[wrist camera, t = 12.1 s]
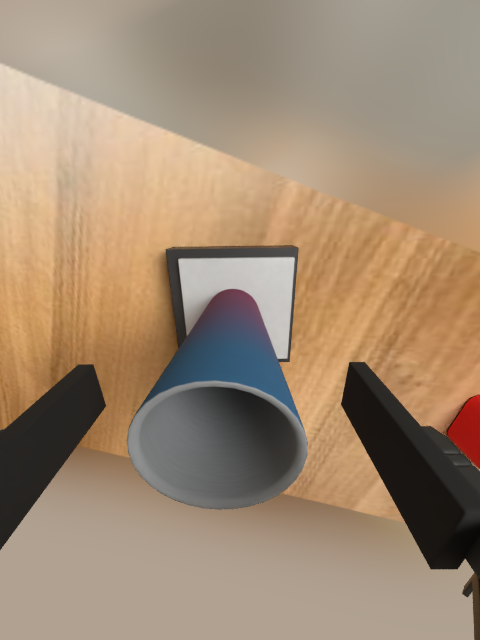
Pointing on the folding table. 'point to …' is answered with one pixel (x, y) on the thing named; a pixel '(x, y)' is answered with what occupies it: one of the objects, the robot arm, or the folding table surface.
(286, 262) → the scale
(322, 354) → the folding table surface
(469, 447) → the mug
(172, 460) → the cup
